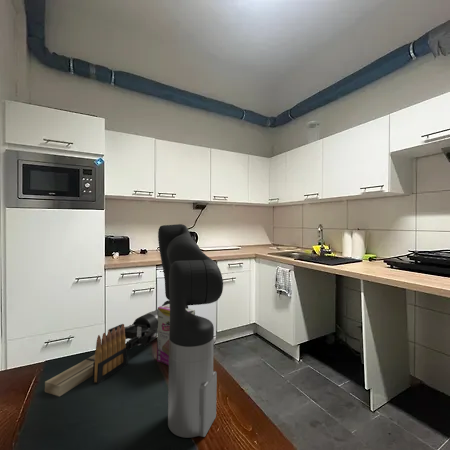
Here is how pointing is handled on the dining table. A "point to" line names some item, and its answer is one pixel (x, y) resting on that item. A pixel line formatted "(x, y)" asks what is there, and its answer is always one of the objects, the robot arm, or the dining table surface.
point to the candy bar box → (164, 333)
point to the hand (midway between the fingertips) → (114, 343)
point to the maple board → (70, 377)
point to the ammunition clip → (109, 354)
